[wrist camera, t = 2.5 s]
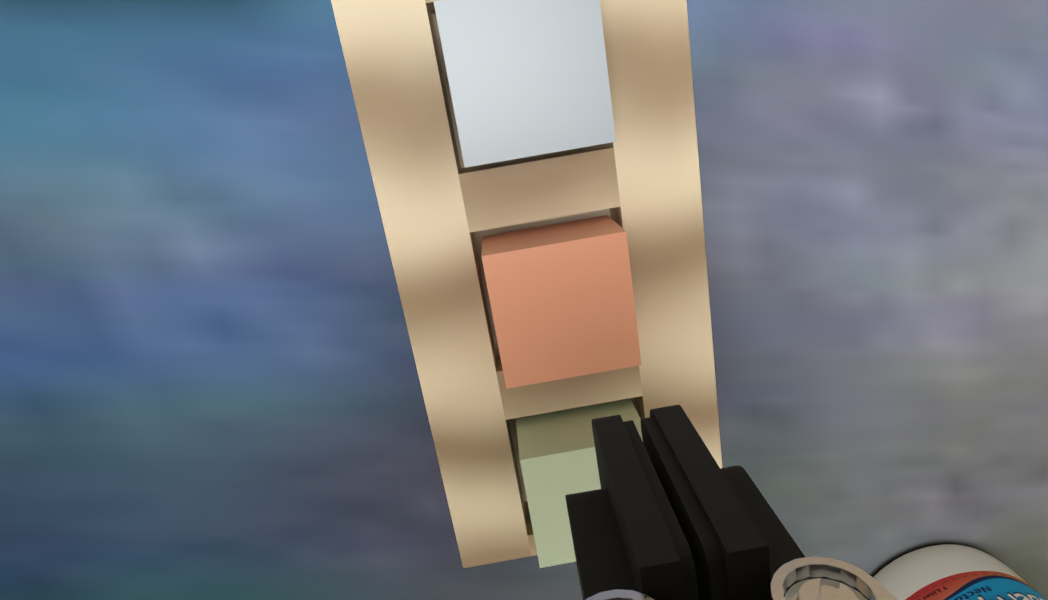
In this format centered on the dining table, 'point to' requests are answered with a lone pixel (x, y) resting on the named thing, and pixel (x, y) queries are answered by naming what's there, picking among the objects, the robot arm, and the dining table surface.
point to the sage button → (561, 470)
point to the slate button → (525, 76)
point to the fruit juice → (953, 576)
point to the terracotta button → (561, 300)
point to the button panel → (520, 203)
